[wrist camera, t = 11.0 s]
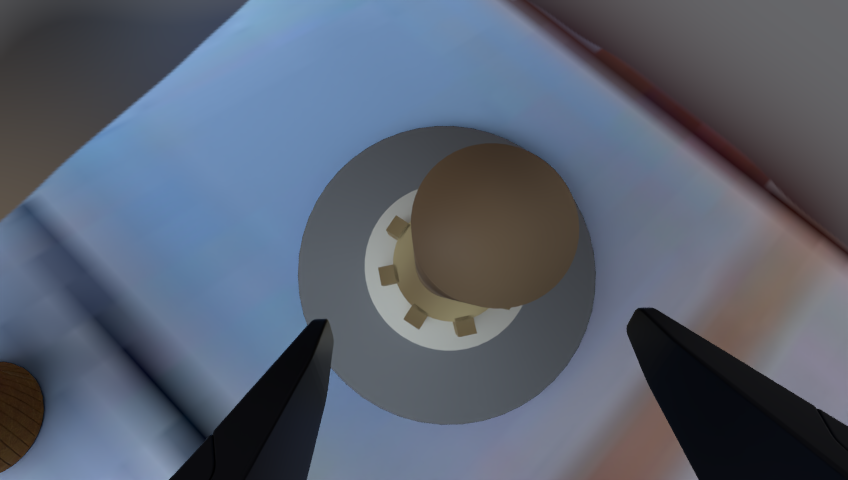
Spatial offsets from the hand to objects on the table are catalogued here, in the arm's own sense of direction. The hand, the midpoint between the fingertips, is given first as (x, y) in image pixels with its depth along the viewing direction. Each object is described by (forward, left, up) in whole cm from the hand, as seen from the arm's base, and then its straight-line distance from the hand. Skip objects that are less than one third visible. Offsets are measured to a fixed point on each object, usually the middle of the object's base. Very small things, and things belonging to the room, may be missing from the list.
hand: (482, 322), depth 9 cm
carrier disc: (+2, -1, -11) cm, 11 cm away
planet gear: (+2, -1, -9) cm, 10 cm away
